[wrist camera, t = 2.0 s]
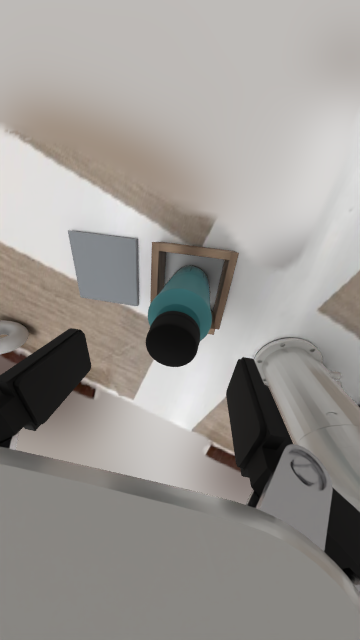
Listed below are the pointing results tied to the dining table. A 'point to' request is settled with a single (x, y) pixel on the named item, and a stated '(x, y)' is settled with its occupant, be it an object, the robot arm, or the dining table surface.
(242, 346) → the dining table surface
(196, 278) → the beverage bottle
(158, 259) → the brown wooden open box
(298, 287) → the dining table surface
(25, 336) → the donut
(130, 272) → the slate mat
